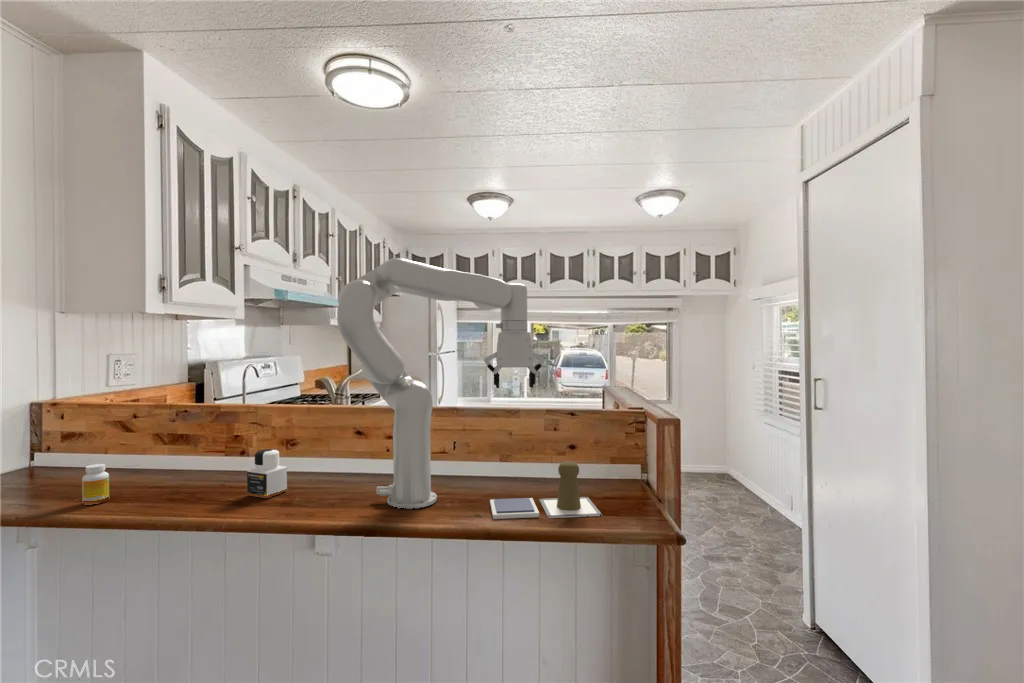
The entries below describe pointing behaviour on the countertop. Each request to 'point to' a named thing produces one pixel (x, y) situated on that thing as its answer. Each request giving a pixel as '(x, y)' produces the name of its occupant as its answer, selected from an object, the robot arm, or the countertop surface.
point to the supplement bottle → (95, 483)
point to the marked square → (584, 511)
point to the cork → (568, 487)
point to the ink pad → (513, 508)
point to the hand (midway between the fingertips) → (514, 387)
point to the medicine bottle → (267, 474)
